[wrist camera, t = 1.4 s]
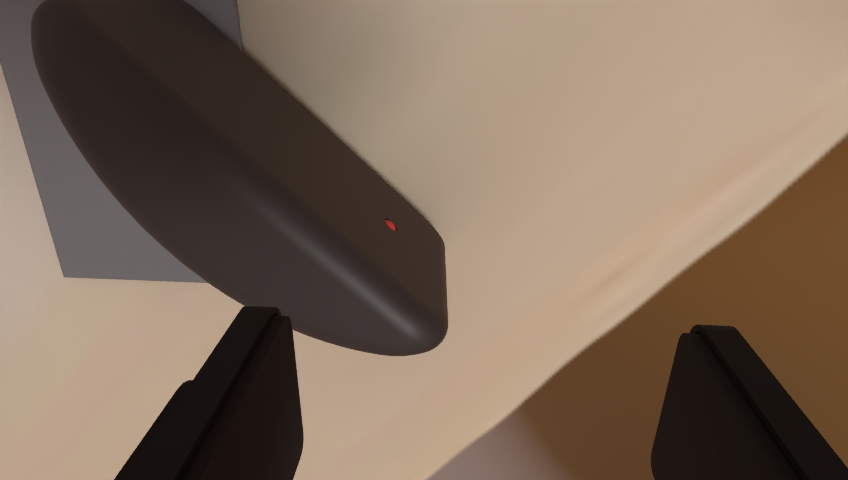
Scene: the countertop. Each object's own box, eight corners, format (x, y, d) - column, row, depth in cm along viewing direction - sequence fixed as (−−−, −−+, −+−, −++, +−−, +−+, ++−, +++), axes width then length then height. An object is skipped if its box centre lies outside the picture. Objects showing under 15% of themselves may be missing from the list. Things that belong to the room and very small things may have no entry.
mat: (229, -64, 23) (225, -65, 22) (270, 281, 29) (267, 285, 29) (-30, -66, 23) (-38, -67, 23) (68, 273, 30) (63, 277, 29)
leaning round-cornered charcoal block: (118, 63, 24) (-52, 105, 16) (178, -20, 23) (25, -22, 14) (389, 291, 29) (371, 419, 20) (452, 234, 28) (461, 346, 19)
